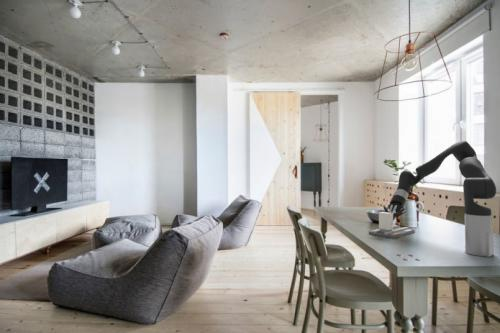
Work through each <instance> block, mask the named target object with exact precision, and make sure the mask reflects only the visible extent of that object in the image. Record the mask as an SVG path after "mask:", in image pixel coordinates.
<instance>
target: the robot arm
mask: <svg viewBox="0 0 500 333" xmlns="http://www.w3.org/2000/svg"><path fill="white" fill-rule="evenodd" d="M451 155H453V156H454V158H455V159H456V160H457V161H458V162H459V164H458V169H459V171H460V174H461V176H462V177H463V178H464V180H463V183H462V184H463V185H462V188H463V199H464V201H463V202H464V204H463V205H464V242H465V244H464V248H465V250H464V251H465V253H466V254H470V255H473V256H479V257H488V258H490V257H492V256H493V255H495V247H494V246H495V245H494V244H495V241H494V239H495V238H494V232H493V228H492V227H493V226H492V224H493V223H492V209H491V208H489V207H488V206H487V207H486V206H484V205H481V204H479V203H477V202H476V201H475V200H474V199H476V200H490V199H493V198H495V196H496V195H497V186H496V183H495V181H494V180H493V178H492V177H491V176H490V175H489V174H488V173H487V172H486V170H485V167H484V166H483V163H482V162H481V161H480V160H479V159H478V156H477V153H476V151H475V149H474V148H473V147H472V146H471V144H470V143H469V142H468V140H467V141H466V140H460V141H457V142H455V143H453V144H452V145H450V146H449V147H448V148H446V149H444V150H442V152H440V153H438V154H437V155H436V156H435V157H433V158H431V159H430V160H428V161H426V162H425V163H423V164H421V165H419V166H417V167H415V172H416V175H415V174H414V173H412V171H410V170H408V169H407V170H403V171H402V172H401V173H400V175H399V178H398V186H397V187H396V189H395V191H394V194H393V195H392V197H391V199H390V201H389V202H390V203H389V204H388V205H387V206H383V210H384V212H388V213H393V220H394V219H395V218H400V217H401V216H402V215H404V214H405V213H407V212H406V209H405V208H404V207H405V204H406V203H407V200H408V197H409V194H410V192H411V189H412V188H411V187H414V186H416V185H417V184H418V183H420V181H422V180H423V179H424V178H426V177H428V176H430V175H431V174H434V173H436V172H437V171H438V169H439V168H440V167H441V165H442V163H443V162H444V161H445V160H446V158H448V157H449V156H451Z"/></svg>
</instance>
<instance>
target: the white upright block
mask: <svg viewBox="0 0 500 333" xmlns="http://www.w3.org/2000/svg"><path fill="white" fill-rule="evenodd" d="M393 226H394V219H393V213H389V211H388V212H385V211H381V212H380V211H379V212H378V229H380V232H384V233H385V232H388V231H392V229H393Z"/></svg>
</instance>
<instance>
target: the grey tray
mask: <svg viewBox="0 0 500 333" xmlns="http://www.w3.org/2000/svg"><path fill="white" fill-rule="evenodd" d="M415 231H416V230H415V229H411V228H410V227H408V226H405V227H399V225H398V224H397V225H396V224H395V225H393V229H392V231H388V232H385V233H384V232H380V228H377V229H372V230H369V231H368V234H369V235H371V236H372V235H373V236H378V237H383V238H387V239H396V238H400V237H405V236H407V235H411V234H414V233H415Z"/></svg>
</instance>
